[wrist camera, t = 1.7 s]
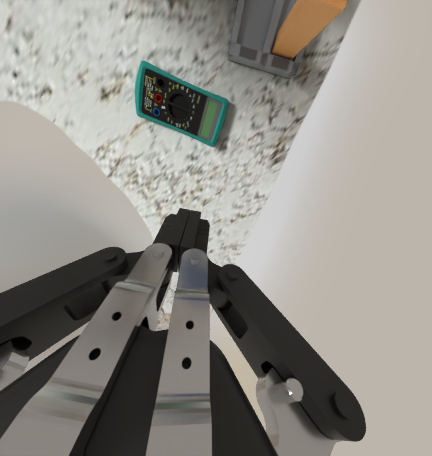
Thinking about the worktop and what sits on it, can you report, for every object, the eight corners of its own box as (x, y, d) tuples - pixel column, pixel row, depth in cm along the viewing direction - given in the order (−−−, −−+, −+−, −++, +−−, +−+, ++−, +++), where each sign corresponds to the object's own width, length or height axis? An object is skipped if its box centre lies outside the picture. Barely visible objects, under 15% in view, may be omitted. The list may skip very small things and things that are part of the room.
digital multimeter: (143, 62, 26) (135, 55, 23) (230, 102, 28) (230, 100, 26) (139, 115, 29) (131, 114, 27) (215, 146, 32) (214, 148, 29)
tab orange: (271, 53, 23) (314, -9, 12) (277, 33, 22) (329, -55, 11) (291, 59, 23) (349, 3, 13) (298, 39, 22) (368, -40, 12)
